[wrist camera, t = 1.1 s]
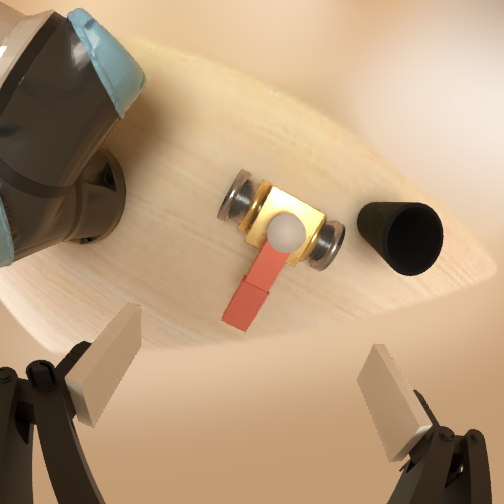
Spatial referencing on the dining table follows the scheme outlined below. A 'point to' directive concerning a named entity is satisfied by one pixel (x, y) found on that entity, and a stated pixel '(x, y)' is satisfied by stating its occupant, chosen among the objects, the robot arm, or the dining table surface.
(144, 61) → the dining table surface
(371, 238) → the cup
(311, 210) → the valve body
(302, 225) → the lever
